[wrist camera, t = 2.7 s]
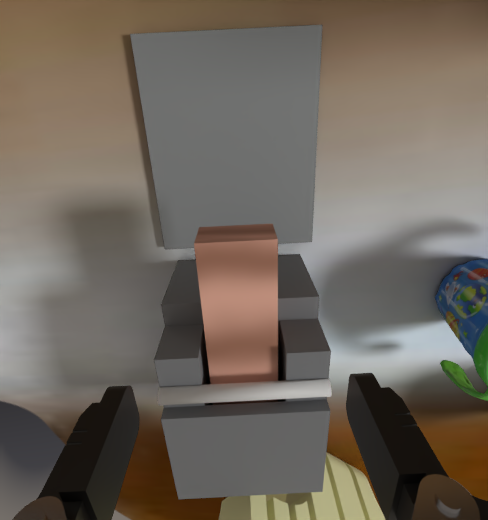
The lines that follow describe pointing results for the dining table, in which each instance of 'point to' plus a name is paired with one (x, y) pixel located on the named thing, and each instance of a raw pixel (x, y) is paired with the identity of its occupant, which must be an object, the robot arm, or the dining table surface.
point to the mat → (231, 127)
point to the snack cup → (467, 319)
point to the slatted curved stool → (312, 500)
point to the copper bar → (239, 302)
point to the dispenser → (245, 398)
